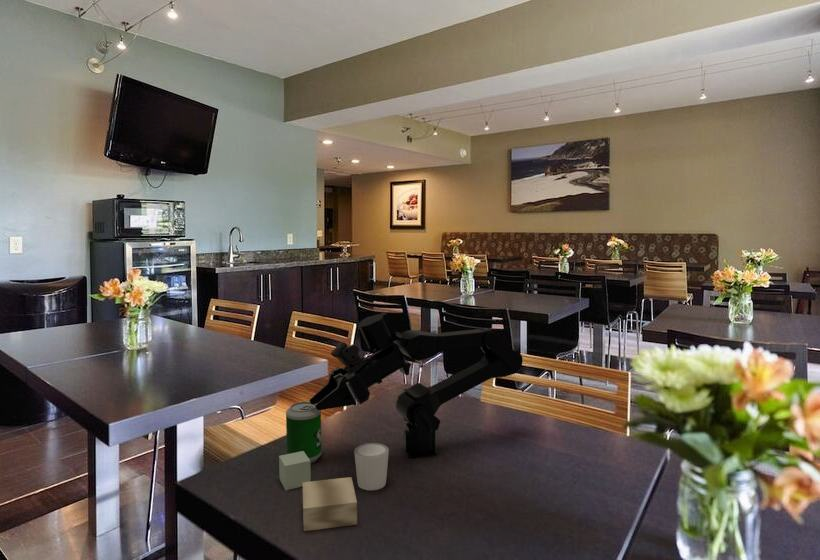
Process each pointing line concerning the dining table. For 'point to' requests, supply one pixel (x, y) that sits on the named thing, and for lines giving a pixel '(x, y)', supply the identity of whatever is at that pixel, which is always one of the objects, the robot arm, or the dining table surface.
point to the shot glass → (371, 465)
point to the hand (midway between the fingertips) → (313, 405)
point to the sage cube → (294, 470)
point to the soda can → (304, 430)
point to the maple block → (329, 504)
